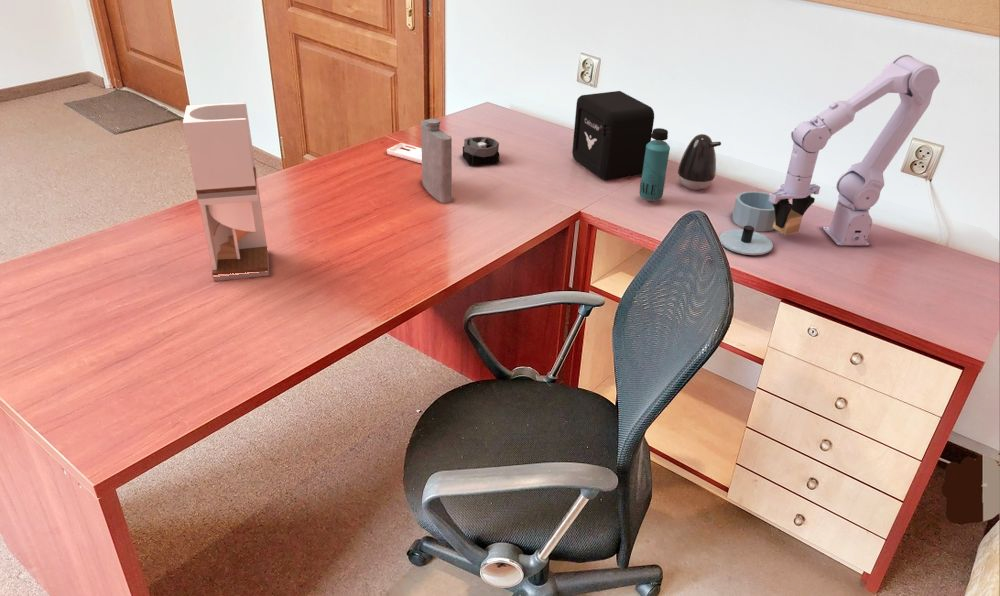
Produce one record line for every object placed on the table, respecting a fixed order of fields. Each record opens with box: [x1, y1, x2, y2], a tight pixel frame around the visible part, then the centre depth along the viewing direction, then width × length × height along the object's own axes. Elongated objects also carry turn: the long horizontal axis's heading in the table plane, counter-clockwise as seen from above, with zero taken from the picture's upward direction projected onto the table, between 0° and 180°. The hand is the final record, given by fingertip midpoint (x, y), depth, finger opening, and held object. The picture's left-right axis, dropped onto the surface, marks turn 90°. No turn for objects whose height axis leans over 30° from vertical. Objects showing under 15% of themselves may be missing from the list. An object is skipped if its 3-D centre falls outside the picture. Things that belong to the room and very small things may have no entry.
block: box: [773, 210, 804, 236], centre depth 187 cm, size 4×4×4 cm
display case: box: [182, 102, 270, 282], centre depth 159 cm, size 11×11×35 cm
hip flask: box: [420, 118, 453, 204], centre depth 200 cm, size 16×4×20 cm, turn 26°
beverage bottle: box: [639, 127, 671, 201], centre depth 200 cm, size 6×7×20 cm
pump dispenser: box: [677, 133, 722, 191], centre depth 210 cm, size 10×10×15 cm
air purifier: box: [571, 90, 655, 182], centre depth 219 cm, size 20×15×20 cm
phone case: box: [386, 142, 422, 165], centre depth 227 cm, size 7×1×15 cm
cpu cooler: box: [462, 136, 500, 167], centre depth 224 cm, size 10×6×10 cm
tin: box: [731, 190, 776, 232], centre depth 195 cm, size 12×12×6 cm
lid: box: [718, 226, 774, 256], centre depth 184 cm, size 13×13×5 cm
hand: (786, 224), depth 187 cm, fingers closed on block, 4 cm apart
